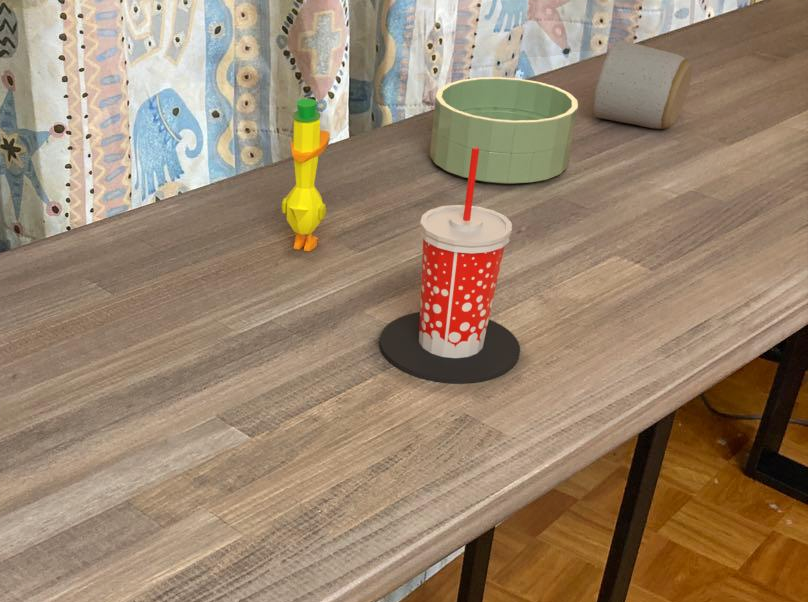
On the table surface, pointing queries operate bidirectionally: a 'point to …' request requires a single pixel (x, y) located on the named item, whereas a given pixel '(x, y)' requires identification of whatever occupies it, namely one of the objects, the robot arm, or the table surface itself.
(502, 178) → the bowl
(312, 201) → the toy figure
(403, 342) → the coaster
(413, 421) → the table surface
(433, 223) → the beverage cup
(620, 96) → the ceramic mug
